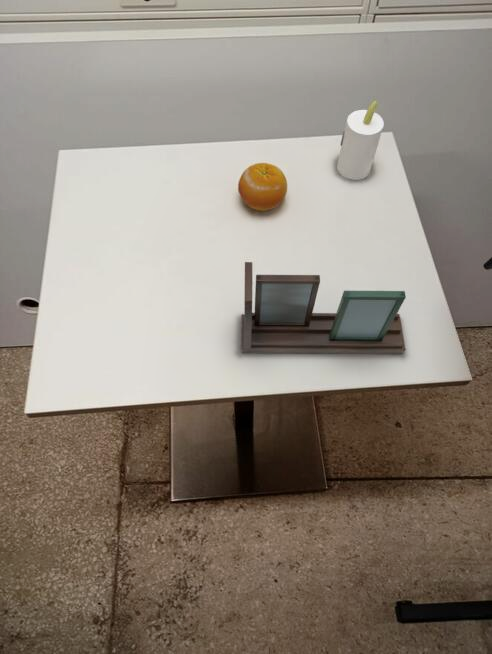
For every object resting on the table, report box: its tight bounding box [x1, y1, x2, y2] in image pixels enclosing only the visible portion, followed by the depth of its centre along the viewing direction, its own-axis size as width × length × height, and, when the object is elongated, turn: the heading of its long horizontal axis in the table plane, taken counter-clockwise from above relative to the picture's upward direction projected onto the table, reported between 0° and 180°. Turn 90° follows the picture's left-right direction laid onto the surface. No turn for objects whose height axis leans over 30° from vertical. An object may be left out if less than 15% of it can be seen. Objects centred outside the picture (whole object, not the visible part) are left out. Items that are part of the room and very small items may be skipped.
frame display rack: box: [240, 261, 406, 355], centre depth 72 cm, size 25×6×16 cm, turn 90°
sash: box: [329, 290, 407, 341], centre depth 71 cm, size 8×1×13 cm, turn 90°
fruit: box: [237, 162, 288, 212], centre depth 89 cm, size 8×8×8 cm
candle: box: [336, 99, 385, 181], centre depth 89 cm, size 6×6×15 cm
